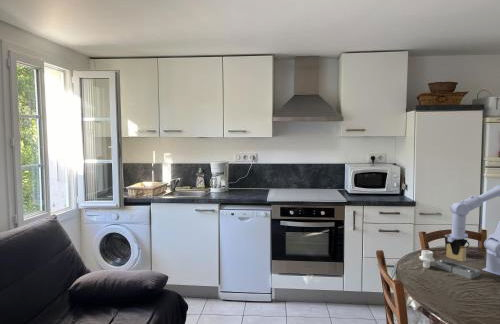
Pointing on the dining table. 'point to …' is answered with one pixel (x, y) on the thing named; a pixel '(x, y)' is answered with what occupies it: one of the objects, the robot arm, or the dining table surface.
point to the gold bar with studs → (461, 253)
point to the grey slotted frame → (457, 268)
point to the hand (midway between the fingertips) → (457, 253)
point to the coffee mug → (448, 242)
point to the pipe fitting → (426, 258)
